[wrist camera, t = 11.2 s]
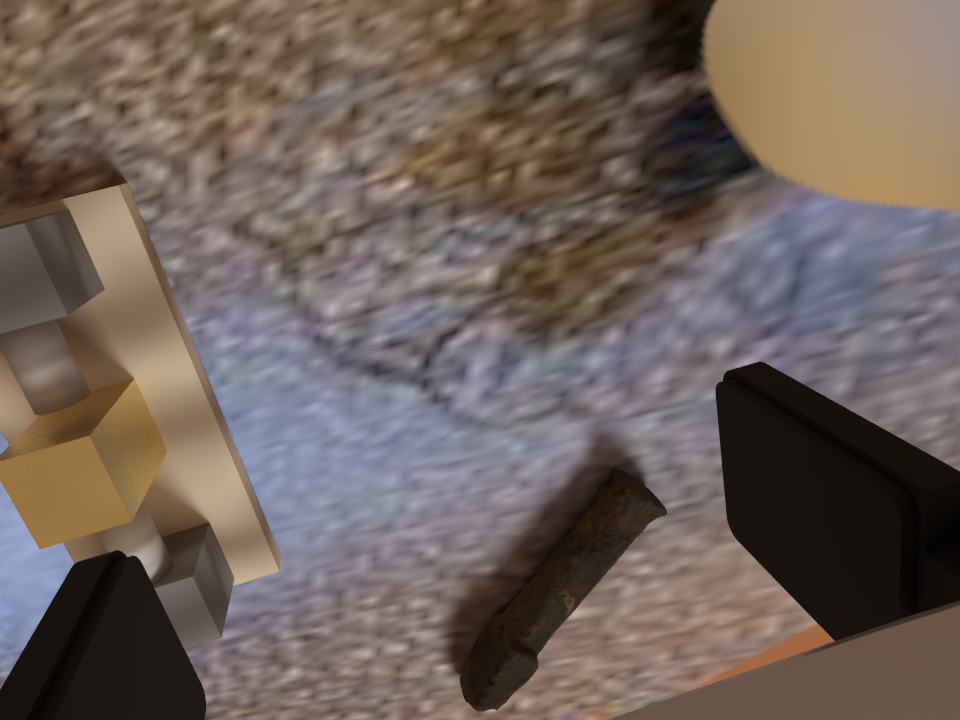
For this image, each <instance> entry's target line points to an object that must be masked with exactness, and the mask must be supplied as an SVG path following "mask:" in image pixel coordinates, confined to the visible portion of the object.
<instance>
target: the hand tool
mask: <svg viewBox="0 0 960 720" xmlns="http://www.w3.org/2000/svg"><path fill="white" fill-rule="evenodd" d="M598 492H599V493H598V497H597V499H596V500H595V501H594V503H593V504H592V505H591V507H590V508H589V509H588V510H587V512H586V513H585V514H584V515H583V516H582V517H581V518H580V519H579V521H578V522H577V523H576V525H575V526H574V527H573V530H572V531H571V532H570V534H569V535H568V536H567V537H566V538H565V539H564V540H563V541H562V543H561V544H560V545H559V546H558V547H557V548H555V549H553V550H552V551H551V554H550V557H549V558H548V559H547V560H546V561H545V562H544V564H543V565H542V566H541V567H540V568H539V569H538V570H537V572H536V574H535V575H534V576H533V578H532V579H531V580H530V581H529V582H528V584H527V585H526V586H525V587H524V588H523V590H522V591H521V592H520V593H519V594H518V595H517V597H516V598H515V599H514V600H513V602H512V603H511V604H510V605H509V607H508V608H507V609H506V610H505V611H499V612H496V613H494V615H493V616H492V617H491V618H490V620H489V621H488V623H487V624H486V625H485V627H484V629H483V630H482V632H481V633H480V635H479V637H478V639H477V641H476V642H475V644H474V646H473V648H472V650H471V652H470V654H469V657H468V659H467V661H466V664H465V666H464V669H463V671H462V673H461V677H460V683H461V688H462V692H463V696H464V699H465V701H466V702H468V703H469V704H470V705H471V706H472V707H473V708H474V709H475V710H477V711H486V710H489V709H496V710H498V709H499V708H500V707H501V706H502V705H503V704H505V703H506V702H507V700H508V699H509V698H510V697H511V695H512V694H513V693H514V692H515V691H517V690H518V689H519V688H520V687H521V686H523V685H524V684H525V683H526V682H527V681H528V680H529V679H530V678H531V677H532V676H533V674H534V673H535V672H536V670H537V668H538V659H537V655H538V654H539V653H540V651H541V650H542V649H543V647H544V646H545V645H546V643H547V641H548V640H549V639H550V638H551V636H552V635H553V634H554V632H555V631H556V630H557V629H558V628H559V627H560V626H561V625H562V623H564V622H565V620H566V619H567V618H568V617H569V616H570V615H571V614H572V613H573V611H574V610H575V609H576V608H577V607H578V605H579V604H580V603H581V602H582V601H583V599H584V598H585V597H586V596H587V595H588V594H589V593H590V591H591V590H592V589H593V588H594V587H595V585H596V584H597V583H598V582H599V581H600V580H601V579H602V578H603V576H604V575H605V574H606V573H607V572H608V570H609V569H611V567H612V566H613V565H614V564H615V563H616V561H617V560H618V559H619V557H620V556H621V555H622V554H623V553H624V552H625V551H626V549H627V548H628V547H629V545H630V544H632V542H633V541H634V540H635V538H636V537H637V536H638V535H639V534H640V533H641V532H642V533H643V530H644V529H645V528H646V526H647V525H648V524H649V523H650V522H652V521H653V520H655V519H656V518H658V517H661V516H665V515H666V514H667V511H666V509H665V507H664V506H663V505H662V503H661V502H660V501H659V500H658V498H657V497H656V496H655V495H654V494H653V493H652V492H651V491H650V490H649V489H648V488H647V487H646V486H645V485H643V484H642V483H640V482H639V481H638V480H636V479H635V478H633V477H632V476H631V475H629V474H627V473H626V472H624V471H621V470H619V469H616V468H614V469H612V472H611V481H610V483H608V484H604V485H602V486H600V487H599V489H598Z"/></svg>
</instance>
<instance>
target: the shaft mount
mask: <svg viewBox="0 0 960 720" xmlns="http://www.w3.org/2000/svg"><path fill="white" fill-rule="evenodd" d="M131 379H135V380H136V383H137V385H138V387H139V389H140V391H141V394H142V396H143V398H144V400H145V402H146V405H147V407H148V409H149V411H150V413H151V416H152V418H153V420H154V422H155V424H156V426H157V429H158V431H159V433H160V435H161V437H162V440H163V442H164V444H165V446H166V448H167V451H168V452H167V454H166V456H165V458H164V460H163V462H162V464H161V466H160V468H159V470H158V472H157V474H156V476H155V478H154V479H153V481H152V483H151V485H150V487H149V489H148V491H147V493H146V495H145V497H144V499H143V501H142V503H141V505H140V507H139V509H138V511H137V513H136V515H135V517H134V519H133V521H132V522H128V523H125V524H122V525H119V526H115V527H112V528H109V529H105V530H102V531H99V532H96V533H92V534H89V535H86V536H82V537H79V538H76V539H72V540H69V541H66V542H63V543H64V545H65V547H66V549H67V551H68V552H69V554H70V556H71V558H72V560H73V561H74V563H76V562H78V561H82V560H85V559H88V558H92V557H95V556H99V555H102V554H105V553H109V552H112V551H116V550H119V551H122V552H123V553H124V554H125V555H126V556H127V557H129V556H133V555H134V556H137V557H138V558H139V559H140V561H141V562H142V564H143V566H144V568H145V570H146V572H147V574H148V576H149V578H150V580H151V582H152V584H153V586H154V588H155V590H156V593H157V595H158V597H159V599H160V601H161V603H162V605H163V607H164V609H165V611H166V613H167V615H168V617H169V619H170V621H171V623H172V625H173V627H174V629H175V631H176V633H177V635H178V637H179V639H180V642H181V644H182V646H183V648H184V649H187V648H190V647H193V646H196V645H200V644H203V643H206V642H209V641H212V640H215V639H218V638H221V637H222V633H223V628H224V624H225V619H226V615H227V610H228V605H229V601H230V596H231V592H232V587H233V586H235V585H238V584H241V583H244V582H247V581H250V580H254V579H257V578H260V577H263V576H266V575H269V574H272V573H276V572H279V570H280V561H281V555H280V553H279V550H278V548H277V545H276V543H275V540H274V538H273V536H272V533H271V531H270V528H269V526H268V523H267V521H266V519H265V516H264V514H263V511H262V509H261V506H260V504H259V502H258V499H257V497H256V494H255V492H254V489H253V487H252V484H251V482H250V480H249V477H248V475H247V472H246V470H245V467H244V465H243V463H242V460H241V458H240V455H239V453H238V450H237V448H236V446H235V443H234V441H233V438H232V436H231V433H230V431H229V429H228V426H227V424H226V421H225V419H224V416H223V414H222V412H221V409H220V407H219V404H218V402H217V399H216V397H215V395H214V392H213V390H212V387H211V385H210V382H209V380H208V378H207V375H206V373H205V370H204V368H203V365H202V363H201V361H200V358H199V356H198V353H197V351H196V348H195V346H194V343H193V341H192V339H191V336H190V334H189V331H188V329H187V326H186V324H185V322H184V319H183V317H182V314H181V312H180V309H179V307H178V305H177V302H176V300H175V297H174V295H173V292H172V290H171V288H170V285H169V283H168V280H167V278H166V275H165V273H164V271H163V268H162V266H161V263H160V261H159V258H158V256H157V254H156V251H155V249H154V246H153V244H152V241H151V239H150V237H149V234H148V232H147V229H146V227H145V224H144V222H143V220H142V217H141V215H140V212H139V210H138V207H137V205H136V203H135V200H134V198H133V195H132V193H131V190H130V188H129V185H128V183H125V184H121V185H117V186H113V187H109V188H105V189H101V190H97V191H93V192H89V193H85V194H81V195H77V196H72V197H68V198H64V199H60V200H56V201H52V202H48V203H44V204H40V205H36V206H32V207H28V208H24V209H20V210H16V211H12V212H8V213H4V214H0V429H1V431H2V433H3V434H4V436H5V438H6V440H7V442H8V444H9V445H11V444H12V443H13V442H14V441H15V440H16V439H17V438H18V437H19V436H20V435H21V434H22V433H23V432H24V431H25V430H26V429H27V428H28V427H29V426H30V425H31V424H32V423H33V422H34V421H35V420H36V419H37V418H38V417H39V416H40V415H45V414H50V413H53V412H57V411H60V410H63V409H65V408H68V407H70V406H72V405H75V404H77V403H79V402H80V401H82V400H84V399H85V398H87V397H88V396H89V395H90V394H91V392H90V391H92V390H95V389H99V388H102V387H106V386H110V385H113V384H117V383H120V382H124V381H127V380H131Z"/></svg>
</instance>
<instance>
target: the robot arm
mask: <svg viewBox="0 0 960 720" xmlns="http://www.w3.org/2000/svg"><path fill="white" fill-rule="evenodd" d="M716 403H717V414H718V425H719V436H720V447H721V458H722V469H723V480H724V491H725V502H726V513H727V520H728V524H729V527H730V529H731V531H732V533H733V535H734V537H735V538H736V539H737V540H738V542H739V543H740V544H741V545H742V546H743V547H744V548H745V549H746V550H747V551H748V552H749V553H750V554H751V555H752V556H753V557H754V558H755V559H756V560H757V561H758V562H759V563H760V564H761V565H762V566H763V567H764V568H765V569H766V570H767V571H768V572H769V573H770V574H771V576H772V577H773V578H774V579H775V580H776V581H777V582H778V583H779V584H780V585H781V586H782V587H783V588H784V589H785V590H786V591H787V592H788V593H789V594H790V595H791V596H792V597H793V598H794V599H795V600H796V601H797V602H798V603H799V604H800V605H801V606H802V607H803V609H804V610H805V611H806V612H807V613H808V614H809V615H810V616H811V617H812V618H813V619H814V620H815V621H816V622H817V623H818V624H819V625H820V626H821V627H822V628H823V629H824V630H825V631H826V632H827V633H828V634H829V635H830V636H831V637H832V638H833V639H834V640H835V642H832V643H829V644H826V645H823V646H820V647H817V648H814V649H811V650H808V651H806V652H802V653H800V654H797V655H794V656H791V657H788V658H785V659H782V660H779V661H777V662H773V663H771V664H768V665H765V666H762V667H759V668H756V669H753V670H750V671H747V672H745V673H741V674H739V675H736V676H733V677H730V678H727V679H724V680H721V681H718V682H715V683H712V684H710V685H707V686H704V687H701V688H698V689H695V690H692V691H689V692H686V693H683V694H680V695H678V696H675V697H672V698H669V699H666V700H663V701H660V702H657V703H654V704H651V705H649V706H646V707H643V708H640V709H637V710H634V711H631V712H629V713H626V714H623V715H620V716H617V717H614V718H611V719H609V720H960V471H958V470H956V469H955V468H953V467H951V466H949V465H947V464H946V463H944V462H942V461H940V460H938V459H937V458H935V457H933V456H931V455H929V454H928V453H926V452H924V451H922V450H920V449H919V448H917V447H915V446H913V445H911V444H910V443H908V442H906V441H904V440H902V439H901V438H899V437H897V436H895V435H893V434H892V433H890V432H888V431H886V430H884V429H883V428H881V427H879V426H877V425H875V424H874V423H872V422H870V421H868V420H866V419H865V418H863V417H861V416H859V415H857V414H856V413H854V412H852V411H850V410H848V409H847V408H845V407H843V406H841V405H839V404H838V403H836V402H834V401H832V400H830V399H829V398H827V397H825V396H823V395H821V394H820V393H818V392H816V391H814V390H812V389H811V388H809V387H807V386H805V385H803V384H802V383H800V382H798V381H796V380H794V379H793V378H791V377H789V376H787V375H785V374H784V373H782V372H780V371H778V370H776V369H775V368H773V367H771V366H769V365H767V364H766V363H763V362H757V363H753V364H750V365H746V366H743V367H740V368H736V369H733V370H729V371H727V372H726V373H725V374H724V378H723V382H719V383H718V384H717V386H716ZM205 713H206V699H205V693H204V689H203V687H202V684H201V682H200V680H199V678H198V676H197V674H196V672H195V670H194V668H193V666H192V664H191V662H190V660H189V658H188V656H187V654H186V652H185V650H184V648H183V646H182V644H181V642H180V639H179V637H178V635H177V633H176V631H175V629H174V627H173V625H172V623H171V621H170V619H169V617H168V615H167V613H166V611H165V609H164V607H163V605H162V603H161V601H160V599H159V597H158V595H157V593H156V590H155V588H154V586H153V584H152V582H151V580H150V578H149V576H148V574H147V572H146V570H145V568H144V566H143V564H142V562H141V561H140V559H139V558H138V557H137V556H134V555H133V556H129V557H127V556H126V555H125V554H124V553H123V552H122V551H119V550H116V551H112V552H109V553H105V554H102V555H99V556H95V557H92V558H88V559H85V560H82V561H78V562H76V563H75V564H74V565H73V566H72V568H71V570H70V571H69V573H68V575H67V576H66V578H65V580H64V582H63V583H62V585H61V587H60V588H59V590H58V592H57V594H56V595H55V597H54V599H53V600H52V602H51V604H50V606H49V607H48V609H47V611H46V612H45V614H44V616H43V618H42V619H41V621H40V623H39V624H38V626H37V628H36V630H35V631H34V633H33V635H32V636H31V638H30V640H29V642H28V643H27V645H26V647H25V648H24V650H23V652H22V654H21V655H20V657H19V659H18V660H17V662H16V664H15V665H14V667H13V669H12V671H11V672H10V674H9V676H8V677H7V679H6V681H5V683H4V684H3V686H2V688H1V689H0V720H204V718H205Z"/></svg>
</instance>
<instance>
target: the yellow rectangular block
mask: <svg viewBox="0 0 960 720" xmlns="http://www.w3.org/2000/svg"><path fill="white" fill-rule="evenodd" d="M90 392H91V394H90V395H89V396H88V397H87V398H85V399H84V400H82V401H80V402H79V403H77V404H75V405H72V406H70V407H68V408H65V409H63V410H60V411H57V412H53V413H50V414H45V415H40V416H39V417H38V418H37V419H36V420H35V421H34V422H33V423H32V424H31V425H30V426H29V427H28V428H27V429H26V430H25V431H24V432H23V433H22V434H21V435H20V436H19V437H18V438H17V439H16V440H15V441H14V442H13V443H12V444H11V445H10V446H9V447H8V448H7V449H6V450H5V451H4V452H3V453H2V454H1V455H0V481H1V482H2V484H3V486H4V488H5V489H6V491H7V493H8V495H9V496H10V498H11V500H12V502H13V503H14V505H15V507H16V509H17V510H18V512H19V514H20V516H21V517H22V519H23V521H24V523H25V524H26V526H27V528H28V530H29V531H30V533H31V535H32V537H33V538H34V540H35V542H36V544H37V545H38V547H39V549H43V548H46V547H49V546H53V545H56V544H59V543H63V542H66V541H69V540H72V539H76V538H79V537H82V536H86V535H89V534H92V533H96V532H99V531H102V530H105V529H109V528H112V527H115V526H119V525H122V524H125V523H128V522H132V521H133V519H134V517H135V515H136V513H137V511H138V509H139V507H140V505H141V503H142V501H143V499H144V497H145V495H146V493H147V491H148V489H149V487H150V485H151V483H152V481H153V479H154V478H155V476H156V474H157V472H158V470H159V468H160V466H161V464H162V462H163V460H164V458H165V456H166V454H167V452H168V451H167V448H166V446H165V444H164V442H163V440H162V437H161V435H160V433H159V431H158V429H157V426H156V424H155V422H154V420H153V418H152V416H151V413H150V411H149V409H148V407H147V405H146V402H145V400H144V398H143V396H142V394H141V391H140V389H139V387H138V385H137V383H136V380H135V379H131V380H127V381H124V382H120V383H117V384H113V385H110V386H106V387H102V388H99V389H95V390H92V391H90Z"/></svg>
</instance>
